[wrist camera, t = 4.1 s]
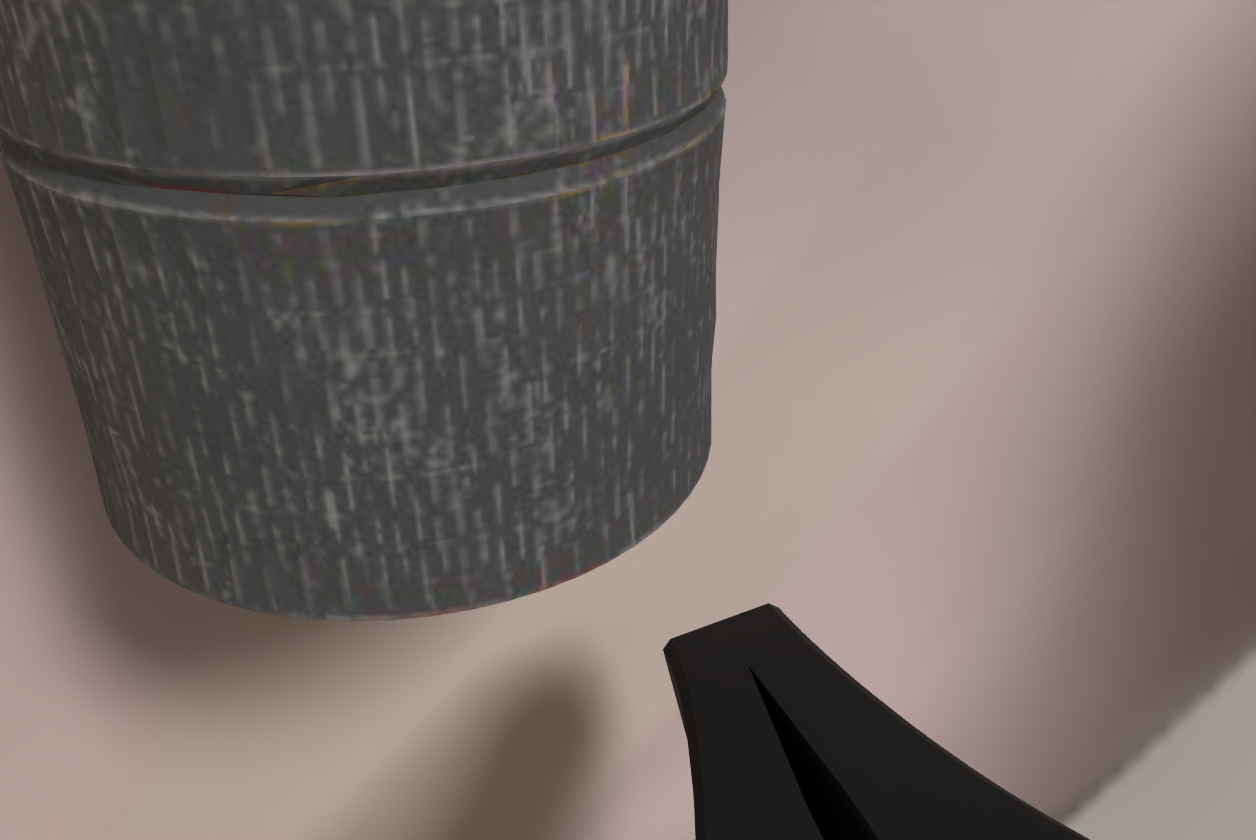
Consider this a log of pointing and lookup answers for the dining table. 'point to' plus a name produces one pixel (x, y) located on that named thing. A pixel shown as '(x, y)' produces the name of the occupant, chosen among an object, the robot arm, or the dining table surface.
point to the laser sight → (376, 282)
